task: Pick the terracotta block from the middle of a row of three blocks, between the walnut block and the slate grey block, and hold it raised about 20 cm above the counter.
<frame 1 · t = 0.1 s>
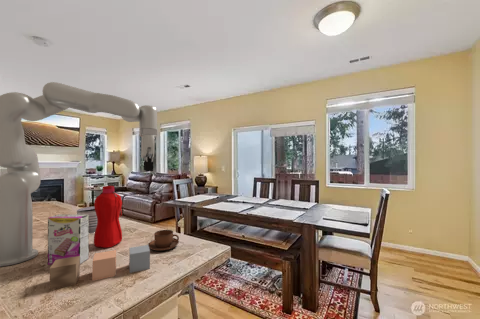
hand: (148, 170, 101), 31 cm above the countertop, tool pointing down, fingers open, 9 cm apart
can: (90, 230, 112), on the countertop
slate grey block: (139, 267, 75), on the countertop
walnut block: (65, 282, 65), on the countertop
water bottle: (110, 245, 94), on the countertop
candy bar box: (68, 262, 78), on the countertop
cup and saucer: (163, 247, 92), on the countertop
terracotta block: (104, 274, 70), on the countertop
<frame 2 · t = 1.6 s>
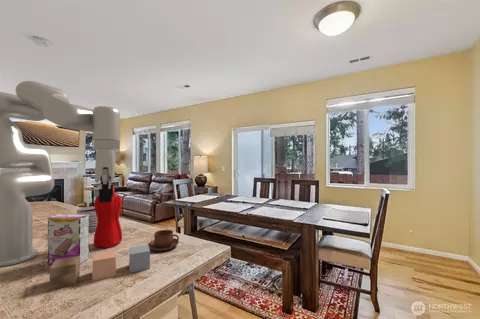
hand: (106, 199, 71), 23 cm above the countertop, tool pointing down, fingers open, 9 cm apart
nothing on the countertop moved.
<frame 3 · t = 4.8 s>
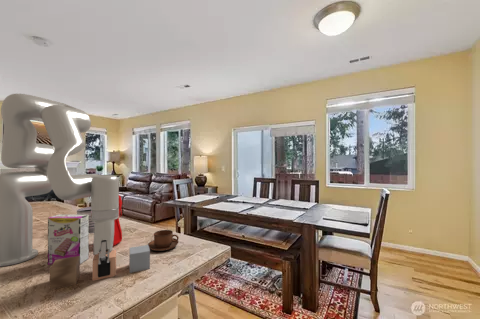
hand: (105, 270, 70), 1 cm above the countertop, tool pointing down, fingers closed on terracotta block, 6 cm apart
terracotta block: (105, 273, 70), on the countertop, touching gripper
everything else where it was.
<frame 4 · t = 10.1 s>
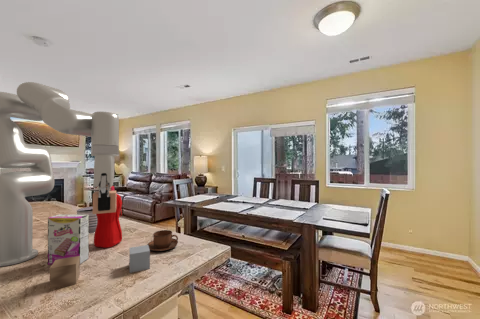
hand: (105, 207, 70), 21 cm above the countertop, tool pointing down, fingers closed on terracotta block, 6 cm apart
terracotta block: (105, 211, 70), point 20 cm above the countertop, touching gripper
everything else where it was.
at the end: the gripper is holding terracotta block; terracotta block point 19.9 cm above the countertop; walnut block moved 0.1 cm from its start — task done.
